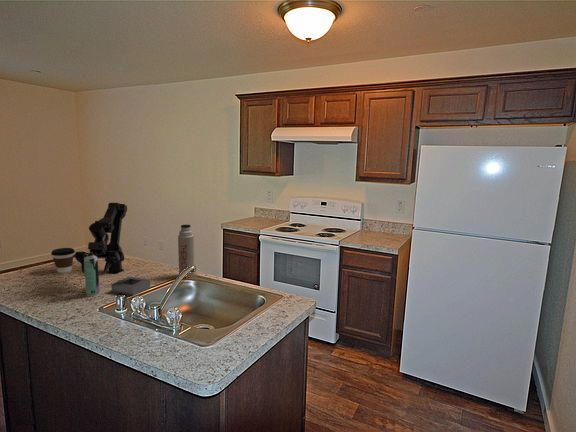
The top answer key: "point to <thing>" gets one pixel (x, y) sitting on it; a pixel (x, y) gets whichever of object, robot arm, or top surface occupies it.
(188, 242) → the thermos bottle
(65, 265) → the coffee cup
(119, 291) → the collar
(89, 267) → the spray can
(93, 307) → the top surface
